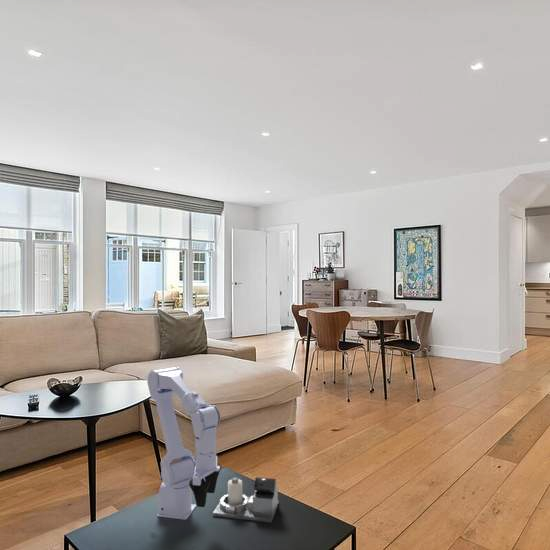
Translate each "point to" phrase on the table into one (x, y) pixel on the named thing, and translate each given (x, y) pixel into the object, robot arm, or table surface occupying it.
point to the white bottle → (235, 492)
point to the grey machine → (253, 503)
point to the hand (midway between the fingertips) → (206, 499)
